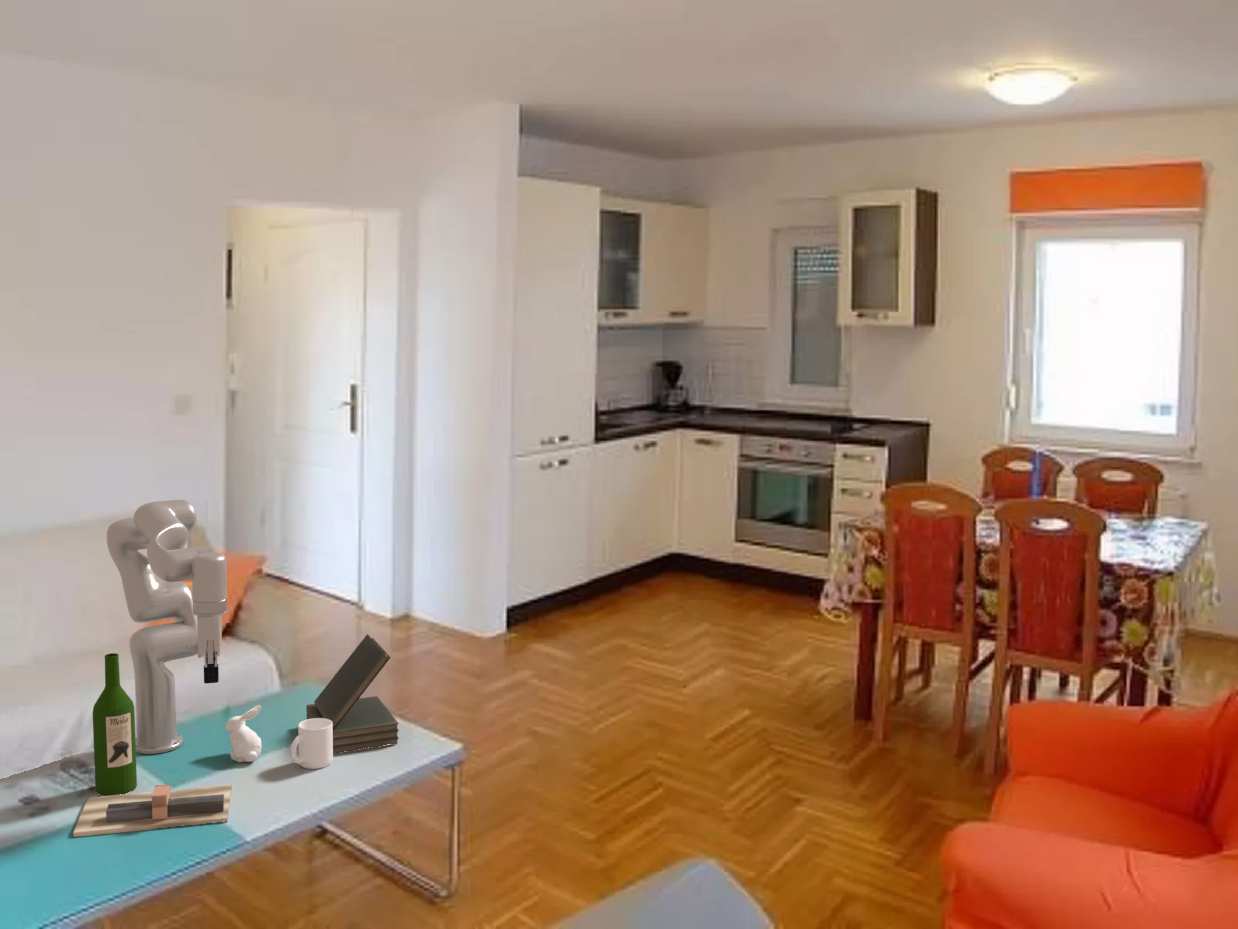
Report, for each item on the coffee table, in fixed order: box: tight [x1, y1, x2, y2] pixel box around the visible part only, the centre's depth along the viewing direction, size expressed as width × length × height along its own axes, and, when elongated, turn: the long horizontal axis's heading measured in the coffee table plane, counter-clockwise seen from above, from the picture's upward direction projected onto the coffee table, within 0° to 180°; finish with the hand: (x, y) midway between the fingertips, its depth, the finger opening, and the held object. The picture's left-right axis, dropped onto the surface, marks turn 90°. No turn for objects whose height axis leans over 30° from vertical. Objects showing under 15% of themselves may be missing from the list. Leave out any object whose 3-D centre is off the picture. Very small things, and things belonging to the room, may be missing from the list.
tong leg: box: [107, 794, 224, 808], centre depth 246 cm, size 24×2×2 cm, turn 106°
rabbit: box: [224, 704, 262, 763], centre depth 279 cm, size 12×9×12 cm
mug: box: [289, 718, 334, 770], centre depth 275 cm, size 12×8×10 cm
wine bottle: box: [92, 652, 138, 796], centre depth 257 cm, size 9×9×32 cm
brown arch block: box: [152, 783, 171, 820], centre depth 244 cm, size 6×3×5 cm, turn 16°
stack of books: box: [305, 633, 399, 755], centre depth 295 cm, size 23×20×25 cm
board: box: [72, 784, 233, 838], centre depth 248 cm, size 18×31×4 cm, turn 106°
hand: (211, 681), depth 259 cm, fingers closed
